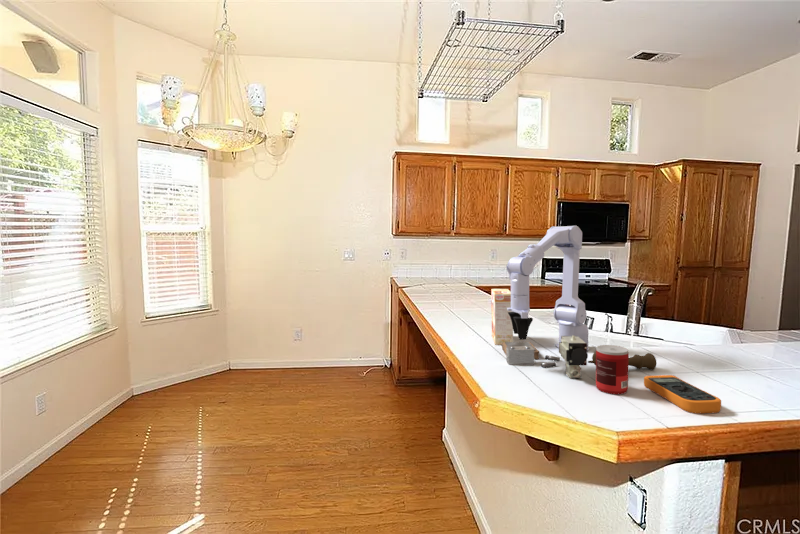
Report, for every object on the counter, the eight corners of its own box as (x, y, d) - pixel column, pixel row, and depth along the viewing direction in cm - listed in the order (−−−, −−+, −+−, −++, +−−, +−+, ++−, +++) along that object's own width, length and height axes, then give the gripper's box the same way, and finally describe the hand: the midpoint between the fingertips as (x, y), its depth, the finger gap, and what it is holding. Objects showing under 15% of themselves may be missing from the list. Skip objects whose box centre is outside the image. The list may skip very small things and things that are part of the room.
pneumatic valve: (575, 370, 126) (576, 331, 125) (588, 383, 114) (588, 340, 113) (556, 369, 127) (557, 331, 126) (567, 383, 115) (567, 340, 114)
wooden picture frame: (530, 349, 150) (530, 341, 149) (539, 359, 138) (539, 350, 137) (502, 349, 150) (502, 341, 150) (508, 359, 138) (508, 350, 138)
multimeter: (689, 416, 94) (689, 401, 94) (641, 387, 112) (641, 374, 112) (726, 415, 94) (727, 400, 94) (673, 386, 112) (673, 373, 112)
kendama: (663, 376, 121) (595, 376, 120) (642, 366, 130) (579, 367, 129) (663, 355, 120) (596, 356, 120) (643, 347, 130) (580, 348, 129)
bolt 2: (553, 366, 131) (553, 361, 131) (556, 366, 130) (555, 362, 130) (541, 367, 130) (540, 363, 130) (544, 368, 128) (543, 363, 129)
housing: (531, 361, 136) (531, 345, 136) (534, 365, 132) (534, 348, 132) (506, 361, 137) (506, 345, 136) (508, 365, 133) (508, 348, 132)
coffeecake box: (491, 335, 171) (490, 288, 170) (508, 335, 170) (508, 288, 169) (494, 345, 156) (493, 293, 155) (513, 345, 155) (513, 293, 154)
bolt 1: (559, 361, 135) (560, 357, 136) (558, 361, 134) (558, 357, 135) (546, 359, 138) (546, 355, 138) (544, 359, 137) (545, 355, 137)
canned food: (625, 385, 112) (625, 345, 112) (630, 396, 105) (631, 353, 104) (593, 382, 115) (594, 343, 114) (597, 393, 107) (598, 351, 107)
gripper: (503, 291, 140) (503, 331, 141) (511, 297, 126) (511, 342, 127) (524, 291, 140) (524, 331, 141) (535, 297, 125) (535, 342, 126)
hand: (519, 336), depth 134 cm, fingers open, 7 cm apart
